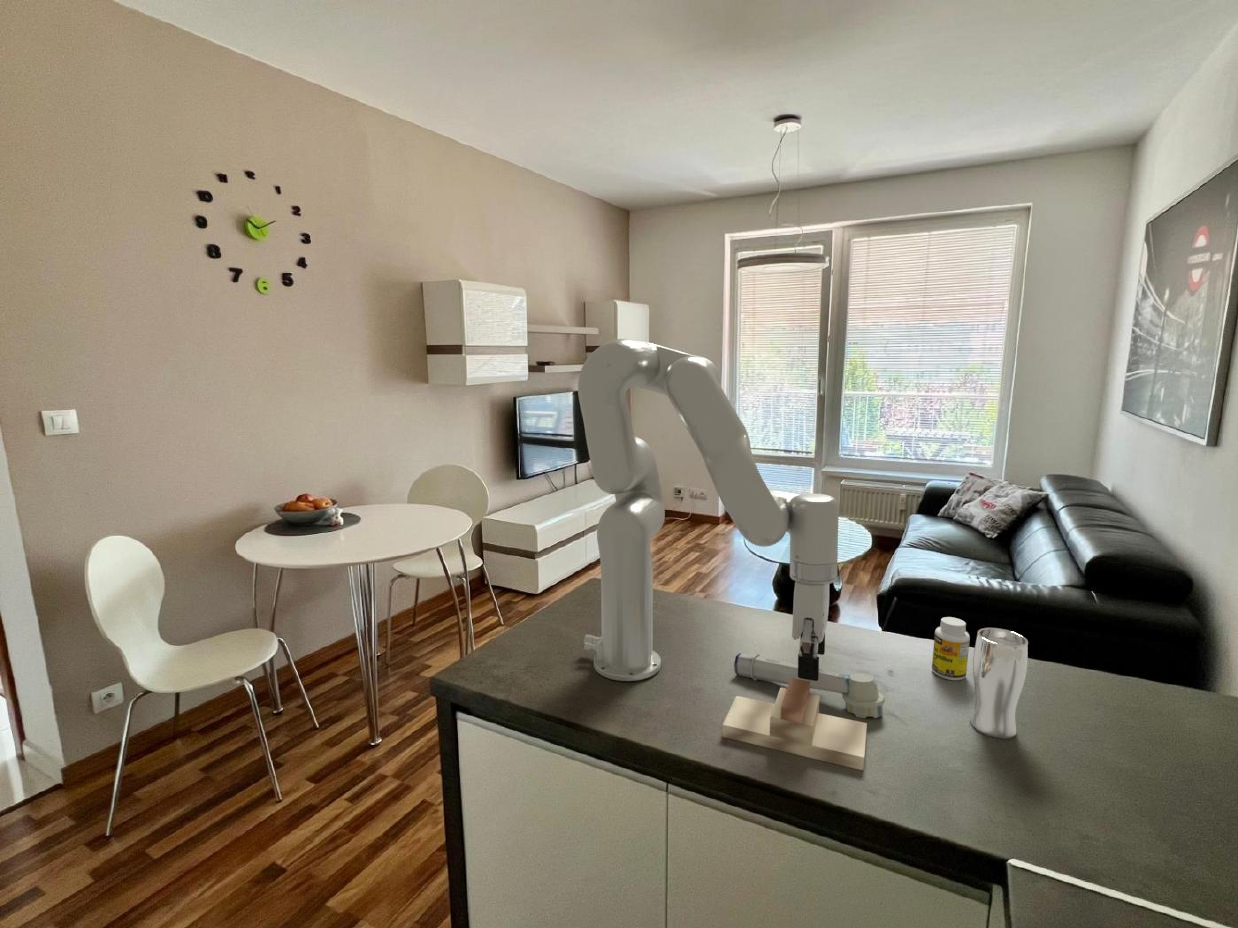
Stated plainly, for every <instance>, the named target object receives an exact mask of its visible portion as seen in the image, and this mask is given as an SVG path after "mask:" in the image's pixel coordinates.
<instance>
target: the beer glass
mask: <svg viewBox="0 0 1238 928" xmlns="http://www.w3.org/2000/svg"><path fill="white" fill-rule="evenodd" d="M1028 645H1029V641H1028V639H1027V638H1026V637H1024V636H1023V635H1022V634H1019V633H1017V632H1015V631H1013V630H1012V631H1011V630H1009V629H1005V628H1004V629H1003V628H998V627H984V628H980V629H979V630H977V635H976V640H975V645H974V650H973V657H972V658H973V660H972V661H973V662H972V669H973V670H972V671H973V682H974V690H975V691H974V692H975V693H974V694H975V703H974V708H973V712H972V714H971V718H970V723H971V725H972V727H973V728H974V729H975V730H976V731H978V732H979V733H981V734H983V735H986V736H988V737H992V738H995V739H1001V740H1002V739H1003V740H1007V739H1012V738H1014V737H1016V735H1017V726H1016V724H1017V723H1016V709H1017V705H1018V702H1019V699H1020V696H1021V694H1022V691H1023V687H1024V685H1025V680H1026V677H1027V669H1028V657H1029V656H1028V654H1029V652H1028V649H1029V648H1028Z"/></svg>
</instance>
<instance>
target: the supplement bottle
mask: <svg viewBox="0 0 1238 928" xmlns="http://www.w3.org/2000/svg"><path fill="white" fill-rule="evenodd" d="M966 627H967V623H966V622H965V621H964V620H962V619H960V618H956V617H954V616H953V617H952V616H946V617H945V616H944V617H942V618H941V619H940V626H938V627H936V629H935V631H934V640H933V650H932V651H933V652H932V662H931V670H932V672H933V673H934V674H935V675H936V676H938V677H940V678H942V679H944V680H950V681H961V680H962V681H963V679H965V678H966V676H967V671H968V670H967V669H968V660H969V651H970V650H969V649H970V640H971V638H970V637H971V636H970V634H969V632H968V631H967V630H966Z"/></svg>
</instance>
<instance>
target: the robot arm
mask: <svg viewBox="0 0 1238 928" xmlns="http://www.w3.org/2000/svg"><path fill="white" fill-rule="evenodd" d="M720 375H721V374H720V371H719V370H718V367H717V366H716V364H714V363H713V361H711V360H709V359H708V358H706V357H703V356H700V355H694V354H689V353H687V352H682V351H679V350H676V349H672V348H670V347H669V348H668V347H666V346H663V345H658V344H654V343H651V342H648V341H644V340H637V339H631V338H630V339H629V338H618V339H617V338H616V339H613V340H612V339H611V340H610V341H607V342H605V343H603V344H602V345H600V346H598V347H597V348H595V350H594V351H593V352H592V353H590V355H589V356H588V357H587V358H586V360H585V361H584V363H583V364H582V367H581V370H580V373H579V376H578V382H577V394H578V401H579V402H578V403H579V405H580V412H581V416H582V420H583V426H584V434H585V439H586V445H587V450H588V456H589V461H590V467H591V472H592V477H593V480H594V482H595V484H596V486H597V487H598V488H599V489H600V490H601V491H603V492H604V493H606V494H608V495H614V497H615V502H614V503H612V504H611V505H609V506H608V507H607V508H606V509H605V510H604V512H603V513H602V514H601V516H600V518H599V521H598V524H597V529H596V539H597V546H598V551H599V560H600V562H599V564H600V589H601V590H600V591H601V592H600V593H601V594H600V596H601V599H600V600H601V602H600V604H601V607H600V608H601V636H595V635H591V634H585V636H584V638H583V644H584V645H583V648H584V650H586V651H589V652H594V653H595V654H596V655H594V658H593V668H594V670H595V672H597V674H600V676H603V677H605V678H606V679H610V680H613V681H617V682H618V681H620V682H636V681H641V680H645V679H649V678H651V677H653V676H654V675H656V674H657V673H658V672H659V671H660V669H661V666H662V665H661V664H662V659H661V656H660V655H659V654H658V653H657V652H656V651H655V650H653V648H654V647H653V646H654V645H653V642H654V640H653V636H654V635H653V633H654V629H653V628H654V627H653V626H654V622H653V621H654V620H653V619H654V615H653V614H654V571H653V570H654V569H653V560H652V554H651V542H652V540H653V539H654V537H655V536H656V535H657V534H658V533H659V532H660V531H661V529H662V527H663V525H664V522H665V515H666V513H665V511H666V509H665V503H664V497H663V492H662V487H661V485H662V484H661V481H660V474H659V469H658V463H657V460H656V457H655V453H654V452H653V450H652V448H651V447H650V446H649V444H648V443H647V442H646V441H645V440H643V439H642V438H640V437H637V436H635V433H634V428H633V422H632V421H633V420H632V419H633V418H632V415H631V411H630V408H629V406H628V404H627V403H628V402H627V399H626V392H627V390H629V389H633V388H634V389H635V388H641V389H645V390H648V391H652V392H655V393H657V394H661V395H665V396H667V398H668V400H669V402H670V403H671V405H672V406H673V409H674V410H675V412H676V414H677V415H678V417H679V419H680V420H681V422H682V423H683V425H684V427H685V429H686V430H687V432H688V433H689V435H690V437H691V439H692V440H693V443H694V444H695V446H696V447H697V449H698V451H699V452H700V455H701V456H702V459H703V463H704V465H705V467H706V470H707V472H708V475H709V477H710V479H711V481H712V484H713V487H714V488H715V490H716V491H715V492H716V493H717V495H718V497H719V500H720V501H721V503H722V505H723V507H724V508H725V510H726V511H727V513H728V515H729V517H730V518H731V520H732V522H733V524H734V525H735V527H736V528H737V530H738V532H739V533H740V535H742V537H743V538H744V539H745V540H746V541H748V542H749V543H750V544H752V545H754V546H758V547H762V548H763V547H764V548H766V547H771V546H775V545H776V544H777V543H779V542H780V541H782V539H783V538H784V537H785V535H786V533H788V534H789V537H790V538H789V577H790V579H791V580H792V581H795V582H794V589H793V590H794V591H793V605H792V607H793V608H792V610H793V611H792V627H791V638H792V639H793V640H794V641H795V640H799V650H798V654H797V664H798V677H799V678H801V679H807V680H813V681H818V678H819V669H820V656H818V655H821V656H823V655H825V653H826V652H825V651H826V650H825V649H826V648H825V647H826V630H827V624H828V618H829V617H828V616H829V610H830V609H829V607H830V584H833V583H835V582H836V581H838V563H839V562H838V560H839V559H838V552H839V551H838V550H839V549H838V548H839V514H840V513H839V511H840V510H839V507H840V506H839V502H838V501H837V499H836V498H835V497H833V496H831V495H829V494H824V493H802V494H798V493H792V492H786V491H781V490H775V489H769V487H768V486H767V484H766V483H765V481H764V479H763V477H762V475H761V473H760V471H759V469H758V467H757V464H756V462H755V459H754V456H753V453H752V447H751V441H750V436H749V433H748V431H747V429H746V427H745V425H744V423H743V422H742V419H741V418H740V417H739V415H738V413H737V411H736V410H735V409H734V406H733V405H732V403H731V402H730V400H729V398H728V397H727V394H726V393H725V392H724V389H723V388H722V385H721V376H720Z"/></svg>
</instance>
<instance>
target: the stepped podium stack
mask: <svg viewBox="0 0 1238 928" xmlns="http://www.w3.org/2000/svg"><path fill="white" fill-rule="evenodd" d="M820 697H821V696H820V694H815V693H811V688H810V681H805V680H800V679H795V678H790V681H789V684H787V687H786V688H785V687H780V688H779V691H778V694H777V696H776V699H775V701H774V703H772V702H768V701H764V700H758V699H753V698H749V697H745V696H741V695H740V696H739V695H736V696H735V697H734V700H733V702H732V703H731V706H730V708H729V710H728V713H727V715H726V716H725V719H724V720H723V721H724V722H723V724H722V738H727V739H729V740H730V739H731V740H735V741H739V742H743V743H745V744H746V743H747V744H751V745H755V746H758V747H759V746H760V747H763V748H764V747H765V748H767V749H771V750H776V751H780V752H784V753H787V754H793V755H796V756H802V757H805V758H809V759H814V760H818V761H822V762H827V763H830V764H835V765H839V766H843V767H847V768H851V769H856V770H859V771H864V769H865V767H864V765H865V754H866V739H867V729H868V728H867V726H868V723H867V722H862V721H858V720H853V719H848V718H845V717H839V716H834V715H829V714H825V713H820V701H821V700H820Z"/></svg>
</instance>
